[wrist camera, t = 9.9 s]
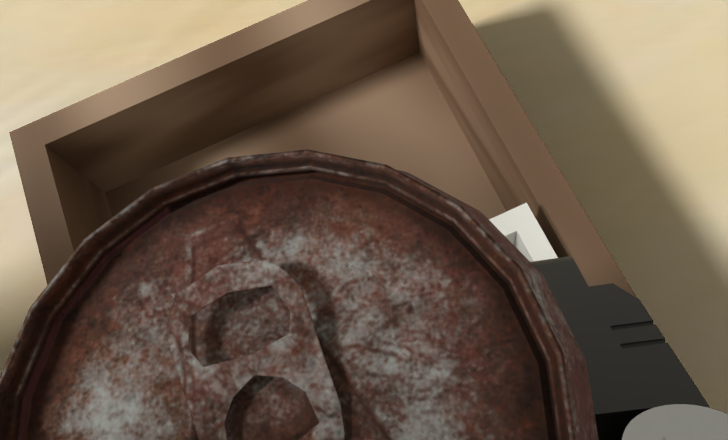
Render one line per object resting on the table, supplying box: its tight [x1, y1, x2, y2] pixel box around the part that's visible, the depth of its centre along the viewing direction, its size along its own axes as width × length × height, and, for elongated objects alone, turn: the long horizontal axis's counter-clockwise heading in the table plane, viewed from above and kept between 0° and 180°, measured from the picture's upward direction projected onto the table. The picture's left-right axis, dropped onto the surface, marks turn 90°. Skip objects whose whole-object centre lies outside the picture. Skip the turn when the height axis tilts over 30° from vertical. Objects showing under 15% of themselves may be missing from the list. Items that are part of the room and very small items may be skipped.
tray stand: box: [9, 0, 637, 298], centre depth 22 cm, size 15×17×5 cm
